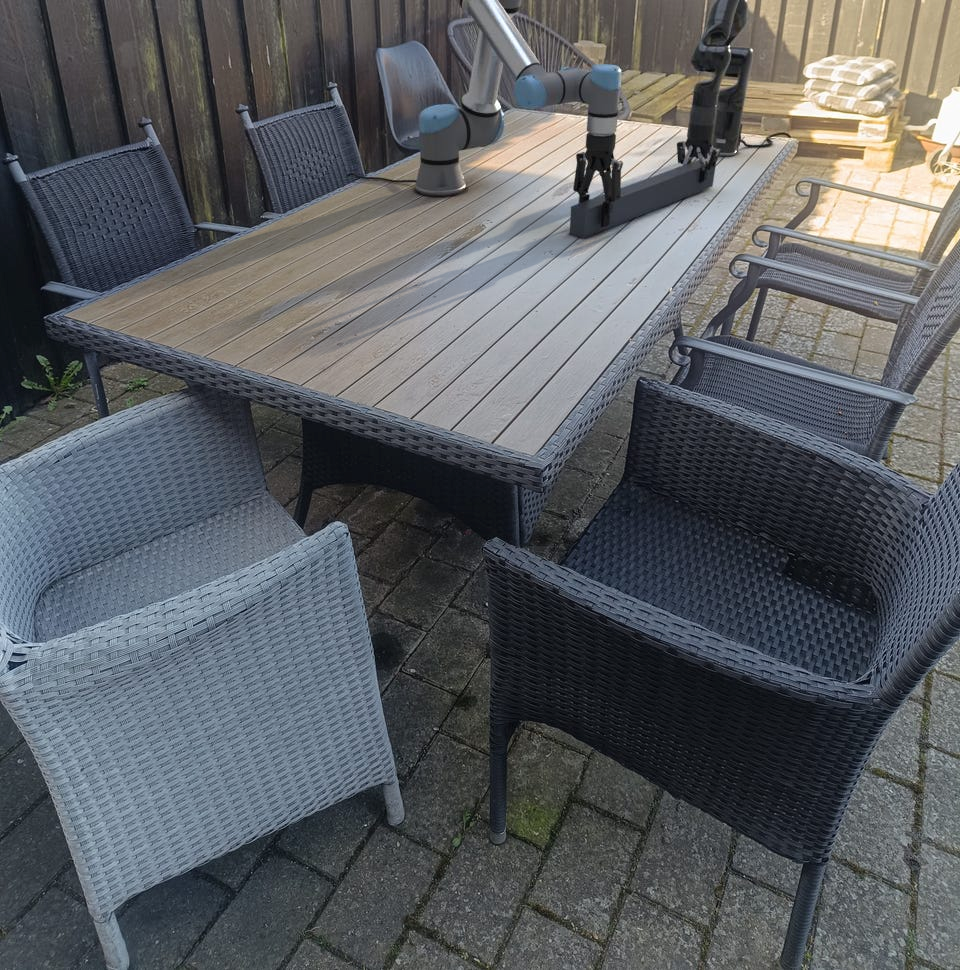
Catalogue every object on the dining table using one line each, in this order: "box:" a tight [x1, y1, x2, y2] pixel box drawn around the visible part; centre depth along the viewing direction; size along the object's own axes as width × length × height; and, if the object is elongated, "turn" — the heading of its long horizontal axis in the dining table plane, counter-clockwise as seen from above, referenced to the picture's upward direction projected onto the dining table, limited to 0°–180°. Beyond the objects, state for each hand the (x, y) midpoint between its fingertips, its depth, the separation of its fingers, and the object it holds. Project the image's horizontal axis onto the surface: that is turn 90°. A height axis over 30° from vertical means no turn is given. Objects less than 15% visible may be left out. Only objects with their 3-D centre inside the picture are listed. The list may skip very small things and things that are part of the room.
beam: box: [568, 159, 717, 239], centre depth 240 cm, size 63×5×7 cm, turn 135°
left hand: (594, 222), depth 228 cm, fingers open, 7 cm apart
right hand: (693, 180), depth 255 cm, fingers closed on beam, 5 cm apart
